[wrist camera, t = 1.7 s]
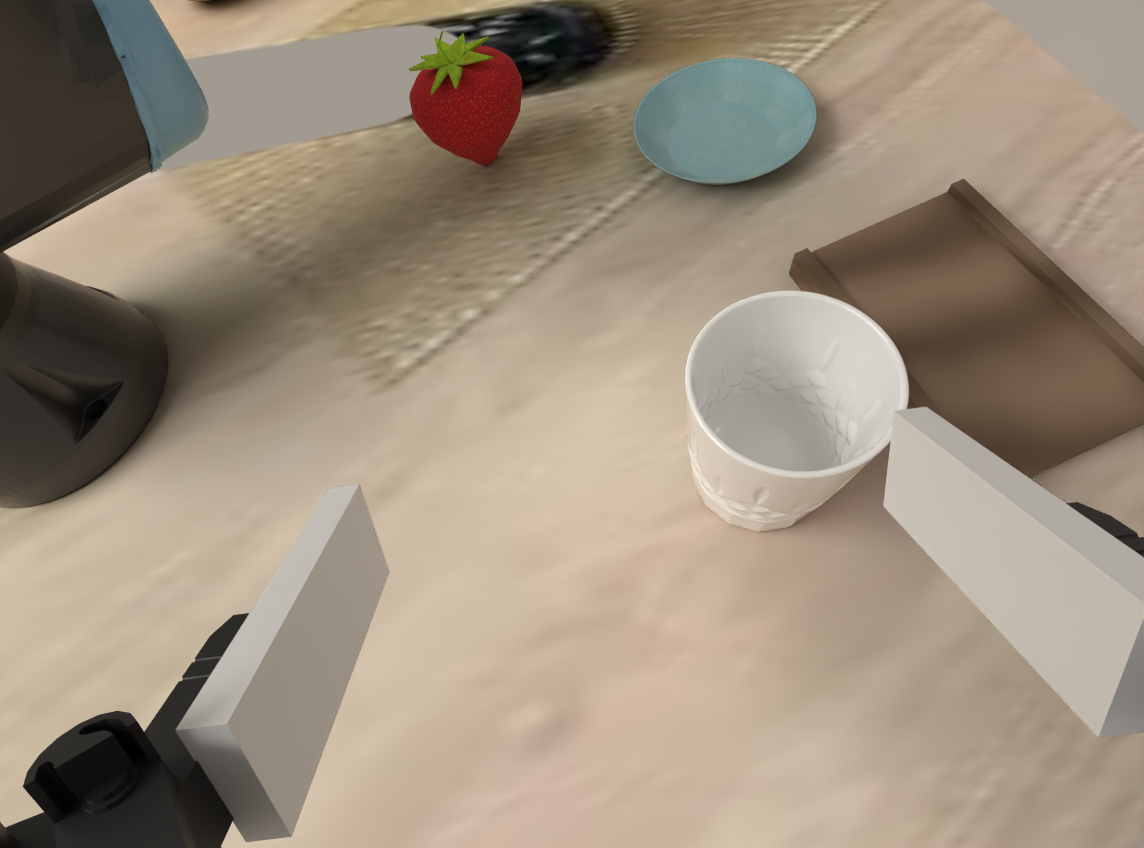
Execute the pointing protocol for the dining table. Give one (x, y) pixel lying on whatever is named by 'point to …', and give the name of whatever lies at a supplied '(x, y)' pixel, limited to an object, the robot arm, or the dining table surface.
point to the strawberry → (467, 98)
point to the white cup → (787, 404)
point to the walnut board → (987, 329)
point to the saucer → (725, 120)
